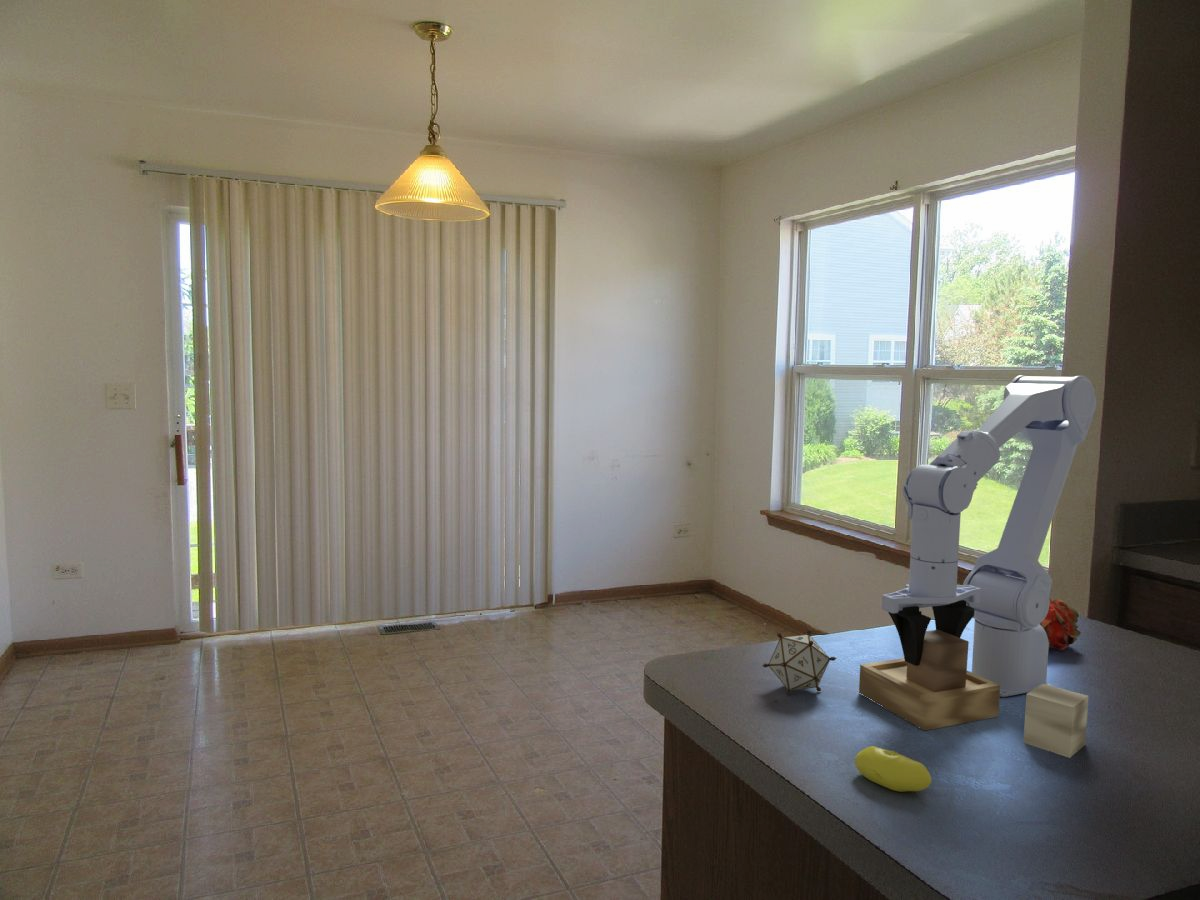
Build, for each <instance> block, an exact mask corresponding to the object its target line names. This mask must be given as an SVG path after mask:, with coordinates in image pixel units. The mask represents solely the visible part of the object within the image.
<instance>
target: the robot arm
mask: <svg viewBox="0 0 1200 900" xmlns="http://www.w3.org/2000/svg"><path fill="white" fill-rule="evenodd" d="M1002 399H1003V401H1002V402H1001V403H1000V404H999V406H997V407H996V409H995V410H994V411H993V412H992V413H991V415H990V416H989V417H988V418H987V419H986V421H985V422H983V424H982V425H981V426H980V427H979V428H978V429H968V430H962V431H960V432H959V433H958V434H957V435H956V438H955V440H953V441H952V442H951V443H950V444H949V445H948V446H947V447H946V448H945V449H944V450H942V451H941V452H940V453H939V454H938V455H937V456H936V457H935V458H934V459H933V460H931V462H930V463H929V464H928V463H927V464H926V463H925V464H920V465H917V466H916V467H914V468H913V469H912V470H911V471H910V472H909V473H908V475H907V477H906V480H905V483H904V484H905V485H902V494H903V497H904V500H905V502H906V503H907V510H908V511H907V516H908V517H909V519H910V521H911V531H910V533H911V534H910V535H911V538H910V557H909V558H910V560H909V573H908V574H909V575H908V577H909V578H908V579H909V580H908V584H905V587H904V588H903V589H900V590H896V591H894V592H891V593H887V594H881V595H882V596H881V597H882V599H881V610H883V611H885V612H888V615H889V616H890V618H891V620H892V622H893V623H894V626H895V628H896V632H897V634H898V637H899V640H900V645H901V648H902V649H901V650H902V654H903V658H904V659H905V661H906V662H908V663H910V664H912V665H915V666H918V665H919V664H920V661H921V657H922V651H923V641H924V637H925V633H926V631H928V630H927V629H928V628H929V627H928V626H929V625H930V622H931V620H932V618H931V617H930V616H926V615H925V614H922V613H923V612H922V610H920V609H922V608H932V609H931V610H932V613H933V616H934V618H933V619H934V623H935V630H941V631H943V632H946V633H948V634H951V635H953V636H956V637H959V638H961V637H962V635H963V633H964V631H965V629H966V627H967V626H968V624H969V623H970V621H971V620H972V619H974V627H973V640H972V641H973V642H972V643H973V645H972V658H971V659H972V661H971V671H969V672H972V673H974V674H976V675H978V676H981V677H983V678H985V679H987V680H990V681H992V682H994V683H997V684H999V685H1000V697H999V698H1001V697H1002V698H1004V697H1006V698H1007V697H1010V696H1017V695H1020V694H1027V693H1029V692H1030V691H1032V690H1033V689H1035V688H1036V687H1038V686H1040V685H1041V684H1047V685H1050V686H1053V685H1052V684H1051V683H1048V682H1047V676H1048V675H1047V674H1048V662H1049V661H1048V660H1049V659H1048V658H1049V649H1048V648H1049V642H1048V637H1047V634H1046V632H1045V630H1044V629H1043V627H1042V626H1041V625H1040V623H1041V622H1042V621H1043V620H1044V619H1045V617H1046V615H1047V613H1048V610H1049V604H1050V600H1049V598H1050V594H1051V590H1052V589H1051V588H1052V585H1053V579H1052V577H1051V576H1050V574H1049V573H1048V571H1047V570H1046V568H1044V567H1043V565H1042V564H1041V563H1040V562H1039V559H1040V556H1041V554H1042V550H1043V547H1044V546H1045V545H1044V544H1045V541H1046V538H1047V535H1048V533H1049V530H1050V526H1051V524H1052V521H1053V519H1054V516H1055V512H1056V509H1057V506H1058V503H1059V501H1060V498H1061V495H1062V493H1063V489H1064V486H1065V483H1066V481H1067V478H1068V475H1069V471H1070V469H1071V466H1072V463H1073V460H1074V459H1075V458H1074V457H1075V455H1076V452H1077V449H1078V446H1079V444H1081V443H1083V442H1085V440H1086V437H1087V433H1088V431H1089V429H1090V426H1091V424H1092V420H1093V418H1094V414H1095V411H1096V408H1097V406H1098V403H1097V398H1096V392H1095V389H1094V386H1093V384H1092V382H1091V381H1090V379H1089V378H1088V377H1086V376H1085V375H1075V376H1037V375H1036V376H1032V375H1031V376H1028V375H1024V374H1023V375H1022V374H1020V375H1017V376H1016V377H1014V378H1013V379H1012V380H1011V382H1009V384H1007V385H1006V386H1004V390H1003V398H1002ZM1019 432H1020V435H1021V437H1023V438H1024V439H1025V440H1028V441H1029V442H1030V443H1031V445H1032V450H1031V452H1030V456H1029V458H1028V461H1027V463H1026V466H1025V469H1024V472H1023V475H1022V479H1021V480H1020V483H1019V487H1018V489H1017V491H1016V495H1015V497H1014V500H1013V503H1012V506H1011V509H1010V512H1009V514H1008V518H1007V521H1006V522H1005V523H1006V524H1005V526H1004V529H1003V531H1002V535H1001V537H1000V539H999V544H998V545H997V547H996V548H995V549H993V550H991V551H989V552H986V553H984V554H982V555H981V556H979V557H977V559H976V560H975V561H976V562H975V564H974V566H973V568H972V570H971V571H970V572H969V573H968V575H967V576H966V578H965V579H964V581H963V584H962V585H960V584H959V585H958V572H959V571H958V570H959V569H958V567H959V551H960V550H959V549H960V547H959V546H960V533H961V512H963V511H965V510H966V509H968V508H969V505H970V504H971V502H972V499H973V497H974V496H973V495H974V492H975V491H976V489H977V486H978V482H979V481H980V480H981V479H982V478H983V477H984V476H985V475H986V474H987V473H988V472H989V471H990V470H991V469H992V468H993V467H995V466H996V464H997V463H998V462H999V461H1000V458H1001V451H1000V448H1001V447H1002V446H1004V445H1005V444H1006V443H1007V442H1009V441H1010V440H1012V438H1013V437H1015V436H1016V435H1017V434H1018V433H1019Z"/></svg>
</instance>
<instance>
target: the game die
mask: <svg viewBox="0 0 1200 900" xmlns="http://www.w3.org/2000/svg"><path fill="white" fill-rule="evenodd" d="M811 630H812V629H811V628H809V629H807V631H806V634H805V633H804V634H797V635H788V636H783V635H782V634H781V632H778V631H777V632H776V636H777V637H778V638H779V640H778V642H777V644H776V646H775V648H774V651H773V653H772V655H771V658H770V660H769V662H768V663H766V662H765V663H763V664H762V665H761V666H762V667H764V668H768V667H769V669H770V670H771V671H772V672H773V673H774V675H775V676H776V677H777V678H778V679H779V680H780V681H781V684H783V685H784V687H785V688H786V689H787V691H786V692H785V694H786V697H787V696H788V697H789V696H791V692H794V691H798V690H799V691H800V690H807V689H814V688H816V689H815V690H816V691H817V692H819V691H822V688H821V687H820V686H819V685H820V682H821V680H822V678H823V676H824V674H825V672H826V669H827V668H828V665H829V663H830V662H832V661H835V660H836V659H837V657H835V656H830V657H829V656H828V655H827V654H826V652H825V651H824V650H823V649H822V648H821V646H820V645H819V644H818V643H817V642H816V641H815V640H814V638H813V637H812V636H811V634H812V631H811Z"/></svg>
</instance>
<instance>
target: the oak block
mask: <svg viewBox="0 0 1200 900" xmlns="http://www.w3.org/2000/svg"><path fill="white" fill-rule="evenodd" d="M859 666H860V667H859V681H858V682H859V683H858V684H859V685H858V686H859V687H858V694H859V693H861V694H863V695H864V696H866V697H868V698H870V699H872V700H873V701H875V702H876V703H878V704H880V705H882V706H883V707H884V708H883V707H882V708H883V709H885V708H886V709H885V710H887V709H888V710H890V711H892V712H893V713H892V712H891V713H892V714H894V713H895V714H897V715H899V716H900V717H899V716H898V717H899V718H901V717H902V718H901V719H903V718H904V719H906V720H907V722H908V721H909V722H908V723H910V722H911V723H910V724H912V723H913V724H915V725H916V726H915V725H914V726H915V727H917V726H918V727H917V728H919V727H920V728H921V729H920V728H919V729H920V730H922V729H923V730H922V731H924V730H926V731H930V730H929V729H931V730H935V729H940V728H946V727H950V726H951V727H952V726H956V725H962V724H966V723H971V722H976V721H982V720H986V719H991V718H996V717H999V713H1000V711H999V710H1000V698H1001V697H1000V685H999V684H997V683H994V682H992V681H990V680H987V679H985V678H983V677H981V676H978V675H976V674H974V673H972V672H970V671H969V670H967V673H966V687H964V688H958V689H952V690H946V691H940V692H934V691H932V690H930V689H928V688H926V687H924V686H922V685H920V684H918V683H916V682H913V681H911V680H909V679H907V678H906V675H907V662H906V661H905V659H904V657H902V658H896V659H887V660H881V661H877V662H875V661H874V662H868V663H861V664H859ZM876 703H875V704H876ZM878 704H877V705H878ZM888 710H887V711H888ZM890 711H889V712H890ZM895 714H894V715H895ZM897 715H896V716H897ZM904 719H903V720H904ZM906 720H905V721H906ZM913 724H912V725H913Z"/></svg>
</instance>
